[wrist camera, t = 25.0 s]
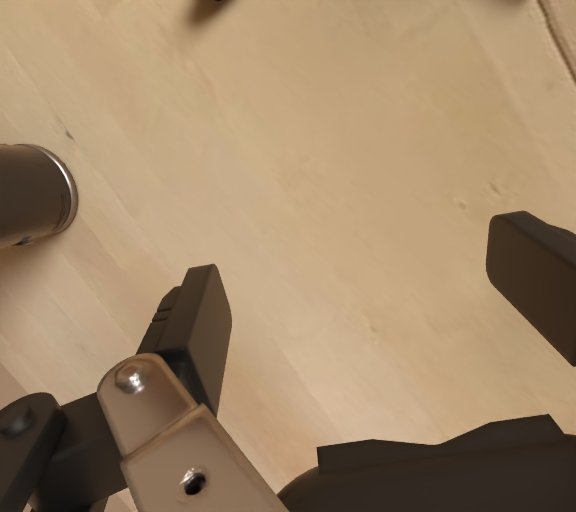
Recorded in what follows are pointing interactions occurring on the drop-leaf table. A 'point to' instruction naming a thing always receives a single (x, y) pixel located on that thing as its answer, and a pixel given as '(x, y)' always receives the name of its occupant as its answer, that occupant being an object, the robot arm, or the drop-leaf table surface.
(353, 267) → the drop-leaf table surface
